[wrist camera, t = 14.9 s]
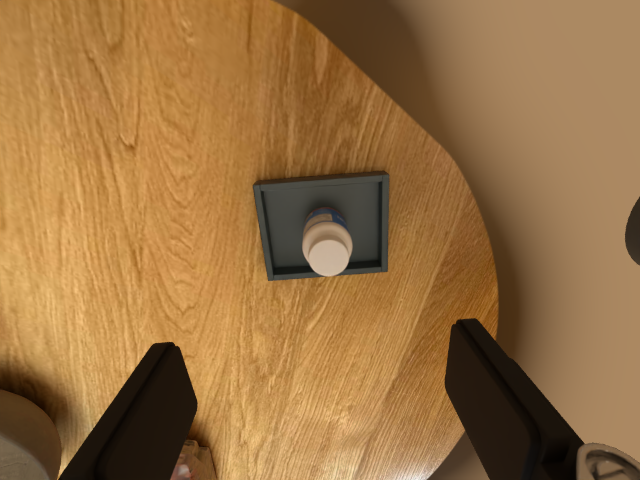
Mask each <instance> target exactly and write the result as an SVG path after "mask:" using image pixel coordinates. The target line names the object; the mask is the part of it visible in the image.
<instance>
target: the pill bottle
mask: <svg viewBox="0 0 640 480" xmlns="http://www.w3.org/2000/svg"><path fill="white" fill-rule="evenodd" d="M302 250H303V254H304V256H305V258H306V260H307V261H308V262H309V264H310V266H311V268H312V269H313V270H314V271H315V272H316V273H318V274H320V275H323V276H334V275H337V274H339V273H341V272H342V271H343V270H344V269H345V268H346V266H347V265H348V262H349V258H350V256H351V253H352V239H351V236H350V233H349V230H348V227H347V225H346V222H345V219H344V217H343V216H342V215H341V213H339V212H338V211H337V210H335V209H333V208H328V207H322V208H318V209H316V210H314V211H312V212H311V213H310V214H309V215H308V217H307V218H306V220H305V223H304V231H303V243H302Z"/></svg>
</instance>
